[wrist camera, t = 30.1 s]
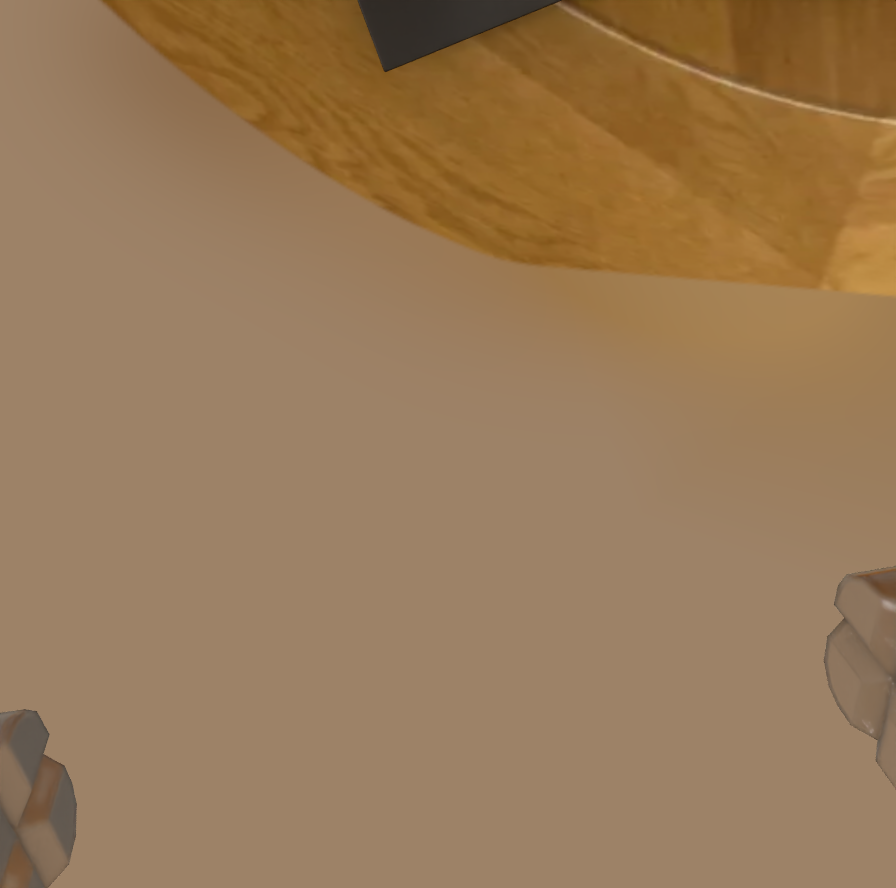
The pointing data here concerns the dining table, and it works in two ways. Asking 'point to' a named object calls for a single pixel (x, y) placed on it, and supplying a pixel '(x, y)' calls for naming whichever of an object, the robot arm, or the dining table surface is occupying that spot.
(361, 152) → the dining table surface
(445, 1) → the black dial panel
